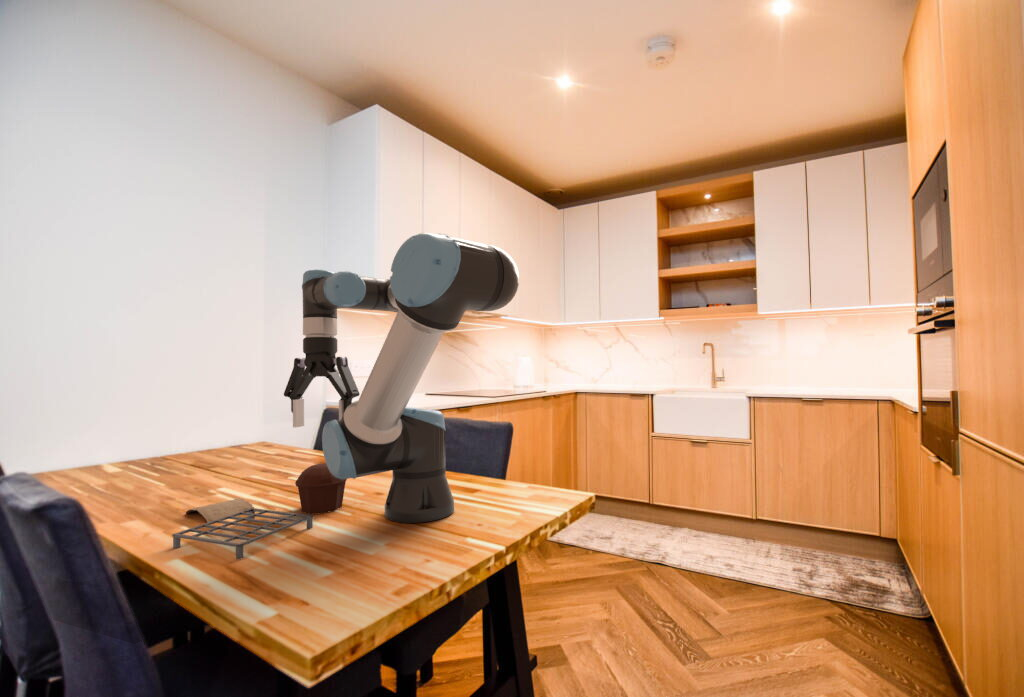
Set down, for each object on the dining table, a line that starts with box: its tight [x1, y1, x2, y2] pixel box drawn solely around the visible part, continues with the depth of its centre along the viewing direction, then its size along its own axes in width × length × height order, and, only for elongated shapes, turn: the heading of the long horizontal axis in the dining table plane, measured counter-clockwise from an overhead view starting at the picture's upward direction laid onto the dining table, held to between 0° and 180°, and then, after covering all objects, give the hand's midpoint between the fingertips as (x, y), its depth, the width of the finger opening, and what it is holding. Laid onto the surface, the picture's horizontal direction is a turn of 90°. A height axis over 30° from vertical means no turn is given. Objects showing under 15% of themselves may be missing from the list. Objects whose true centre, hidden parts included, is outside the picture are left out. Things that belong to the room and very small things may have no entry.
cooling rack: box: [171, 507, 314, 560], centre depth 94 cm, size 17×17×2 cm
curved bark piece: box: [185, 497, 257, 523], centre depth 110 cm, size 14×10×3 cm
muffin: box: [295, 462, 348, 515], centre depth 113 cm, size 12×11×10 cm
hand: (321, 427), depth 113 cm, fingers open, 13 cm apart
